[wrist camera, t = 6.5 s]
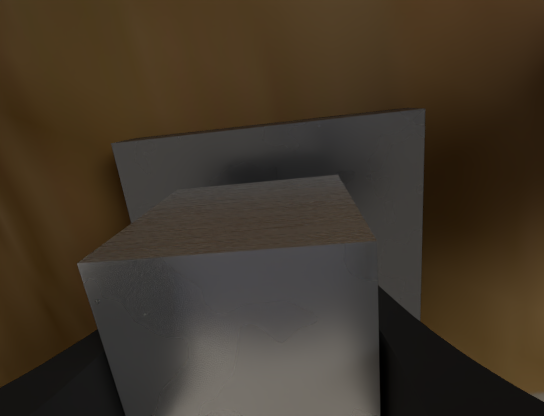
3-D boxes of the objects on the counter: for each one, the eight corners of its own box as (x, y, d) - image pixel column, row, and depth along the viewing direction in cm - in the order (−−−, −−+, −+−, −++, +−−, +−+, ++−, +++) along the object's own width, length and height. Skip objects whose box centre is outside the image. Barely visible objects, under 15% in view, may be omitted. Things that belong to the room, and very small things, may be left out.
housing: (347, 363, 12) (383, 536, 7) (213, 368, 12) (163, 533, 8) (338, 174, 10) (376, 240, 5) (177, 189, 10) (77, 263, 6)
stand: (407, 107, 14) (425, 108, 12) (405, 313, 17) (419, 339, 15) (134, 138, 15) (111, 143, 13) (177, 324, 18) (163, 351, 16)
